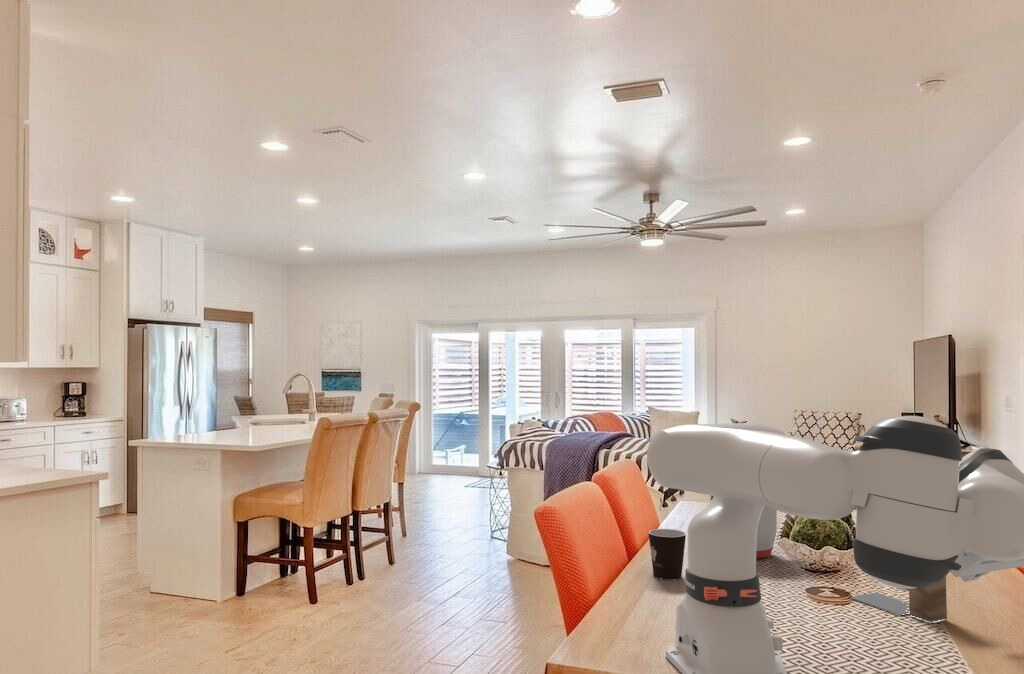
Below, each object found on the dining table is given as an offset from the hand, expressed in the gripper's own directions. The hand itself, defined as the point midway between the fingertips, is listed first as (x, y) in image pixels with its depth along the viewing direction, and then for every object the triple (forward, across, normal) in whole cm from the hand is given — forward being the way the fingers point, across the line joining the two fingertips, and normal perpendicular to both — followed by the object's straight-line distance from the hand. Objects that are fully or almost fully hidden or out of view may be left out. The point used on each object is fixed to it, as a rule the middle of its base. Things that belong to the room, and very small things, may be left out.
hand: (966, 577), depth 135 cm
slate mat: (+19, 0, +5) cm, 19 cm away
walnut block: (+12, 0, -1) cm, 13 cm away
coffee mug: (+44, -29, +30) cm, 61 cm away
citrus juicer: (+50, +2, +36) cm, 62 cm away
